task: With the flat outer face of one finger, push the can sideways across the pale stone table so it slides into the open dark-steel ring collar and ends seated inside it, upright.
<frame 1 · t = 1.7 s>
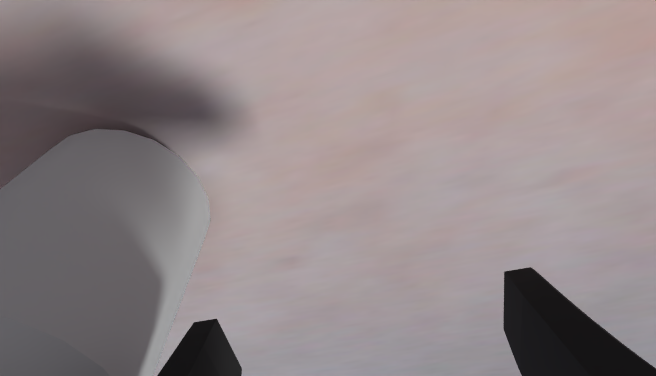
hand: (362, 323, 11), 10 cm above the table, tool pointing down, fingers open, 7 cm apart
can: (135, 193, 20), on the table
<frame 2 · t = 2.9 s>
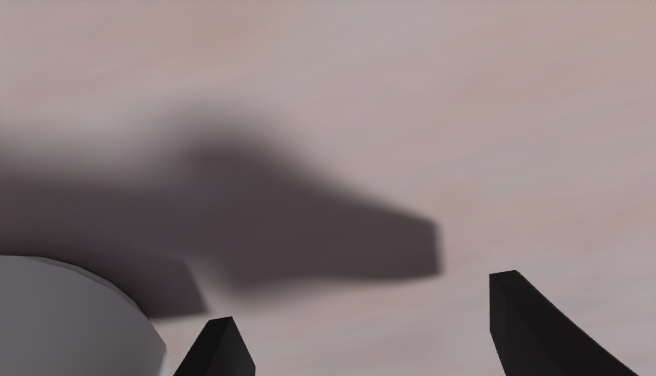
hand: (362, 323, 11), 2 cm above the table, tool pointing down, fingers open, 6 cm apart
can: (57, 324, 13), on the table, touching gripper
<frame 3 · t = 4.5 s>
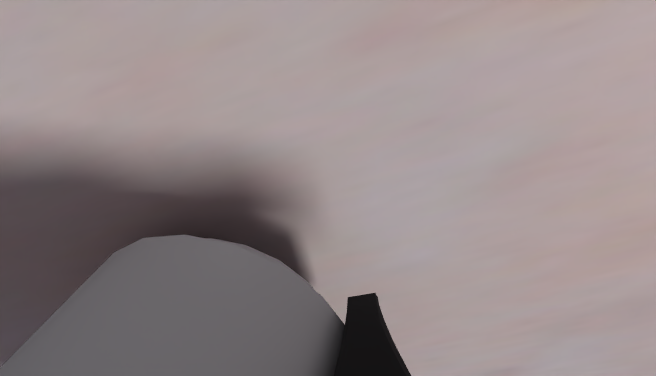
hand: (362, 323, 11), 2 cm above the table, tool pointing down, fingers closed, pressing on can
can: (239, 313, 12), point 1 cm above the table, touching gripper
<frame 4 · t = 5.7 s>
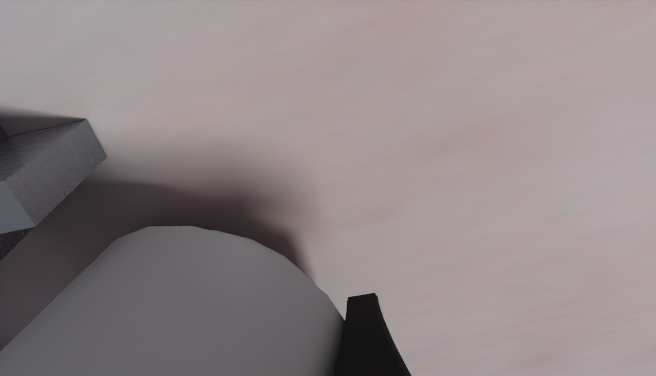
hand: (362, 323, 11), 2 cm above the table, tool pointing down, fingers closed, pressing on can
can: (237, 306, 12), point 1 cm above the table, touching gripper
ring collar: (112, 325, 13), on the table
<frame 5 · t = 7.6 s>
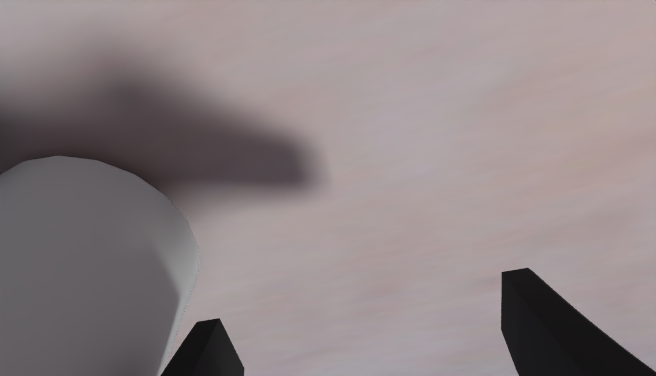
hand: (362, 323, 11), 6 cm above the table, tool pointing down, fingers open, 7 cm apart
can: (107, 230, 16), on the table
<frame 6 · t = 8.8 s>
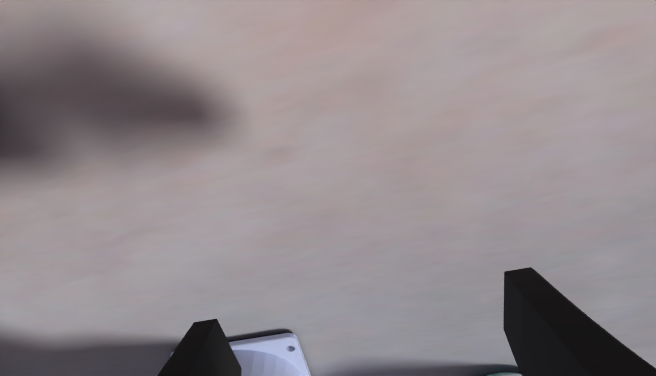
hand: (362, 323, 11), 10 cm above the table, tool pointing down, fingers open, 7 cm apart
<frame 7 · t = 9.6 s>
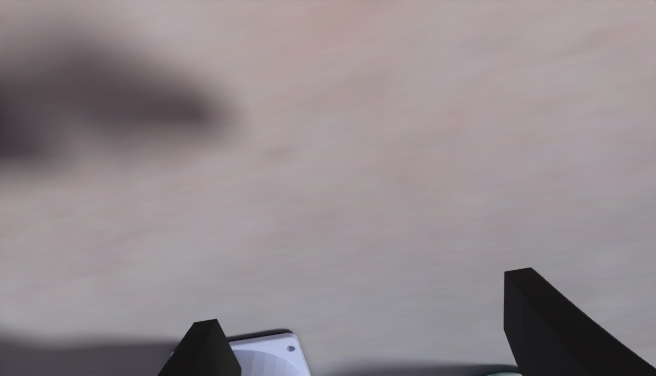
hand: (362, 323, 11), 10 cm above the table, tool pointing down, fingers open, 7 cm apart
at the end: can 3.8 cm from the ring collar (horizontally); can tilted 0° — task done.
